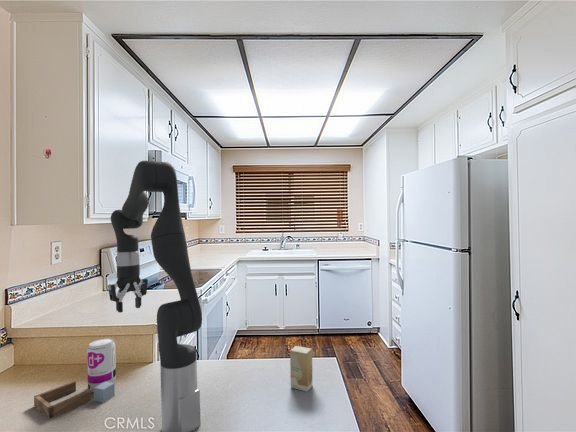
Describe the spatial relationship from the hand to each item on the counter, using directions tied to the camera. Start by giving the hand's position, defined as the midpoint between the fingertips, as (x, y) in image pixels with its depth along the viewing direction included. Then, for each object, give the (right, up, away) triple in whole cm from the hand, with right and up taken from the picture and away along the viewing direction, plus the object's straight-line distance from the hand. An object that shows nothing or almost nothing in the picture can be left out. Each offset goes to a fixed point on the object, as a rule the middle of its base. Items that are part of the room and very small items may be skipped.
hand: (129, 309), depth 116 cm
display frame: (-11, -24, -18) cm, 32 cm away
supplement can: (-5, -24, -9) cm, 26 cm away
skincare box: (+63, -21, -13) cm, 68 cm away
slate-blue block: (0, -23, -16) cm, 28 cm away
